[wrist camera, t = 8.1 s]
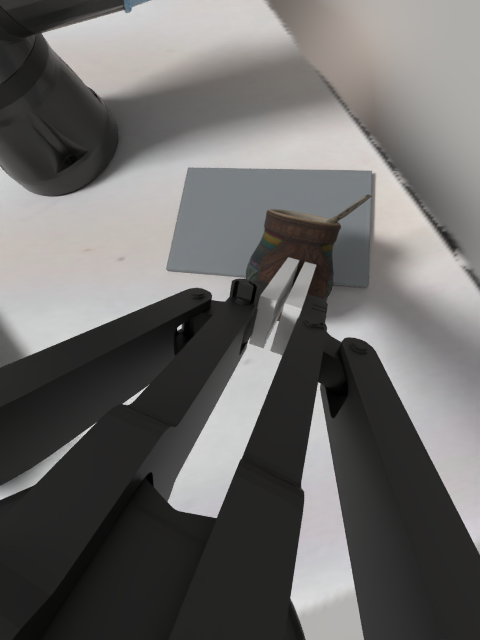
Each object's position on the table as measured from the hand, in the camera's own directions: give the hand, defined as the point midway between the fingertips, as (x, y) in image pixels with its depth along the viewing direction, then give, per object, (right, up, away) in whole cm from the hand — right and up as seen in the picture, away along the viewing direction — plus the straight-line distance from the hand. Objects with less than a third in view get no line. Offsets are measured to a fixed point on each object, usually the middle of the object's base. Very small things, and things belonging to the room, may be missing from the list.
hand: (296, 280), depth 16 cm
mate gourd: (0, -2, +6) cm, 6 cm away
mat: (-1, +8, +10) cm, 13 cm away
